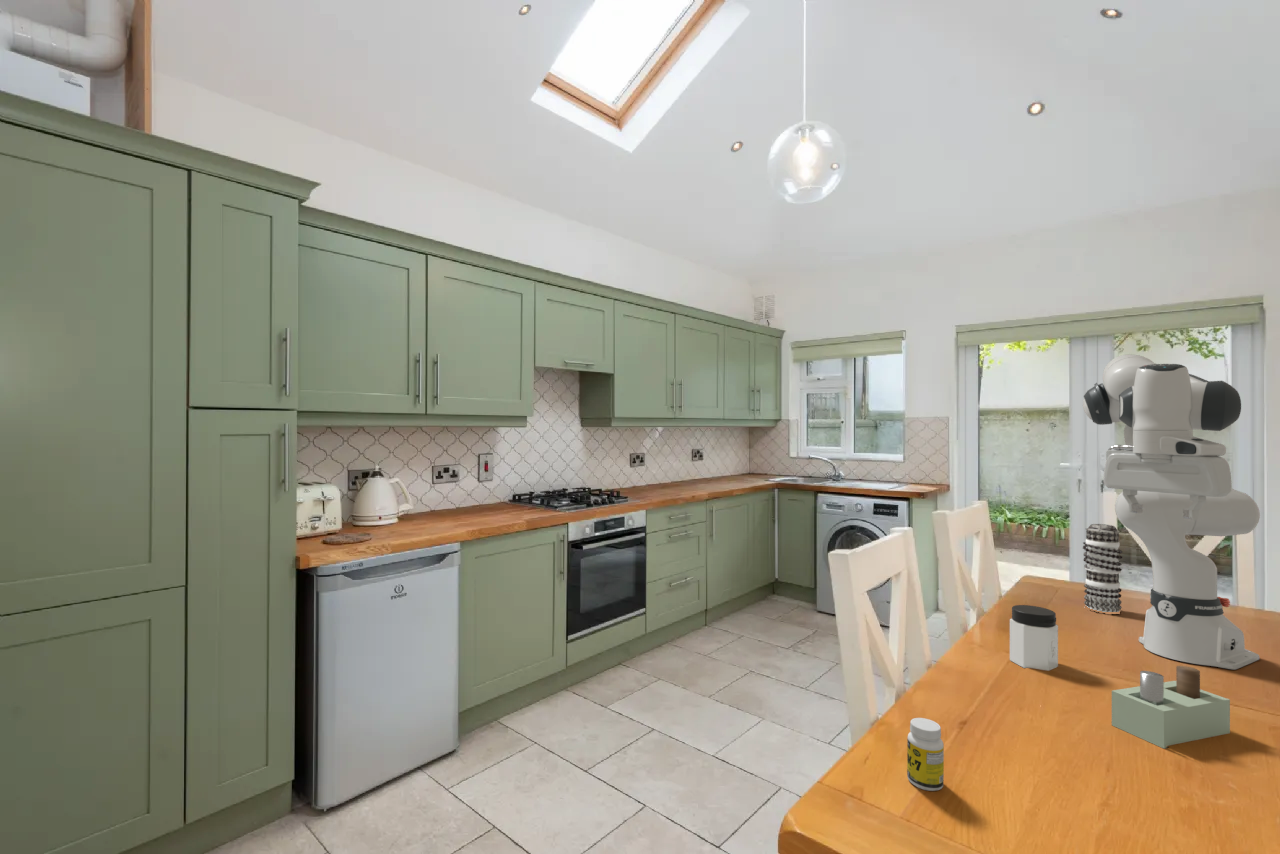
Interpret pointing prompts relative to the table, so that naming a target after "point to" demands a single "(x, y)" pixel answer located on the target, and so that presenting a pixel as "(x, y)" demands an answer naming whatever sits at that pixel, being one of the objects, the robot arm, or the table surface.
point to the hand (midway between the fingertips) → (1162, 515)
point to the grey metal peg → (1151, 687)
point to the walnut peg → (1188, 681)
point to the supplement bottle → (925, 755)
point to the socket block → (1170, 716)
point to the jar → (1034, 637)
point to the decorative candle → (1102, 568)
